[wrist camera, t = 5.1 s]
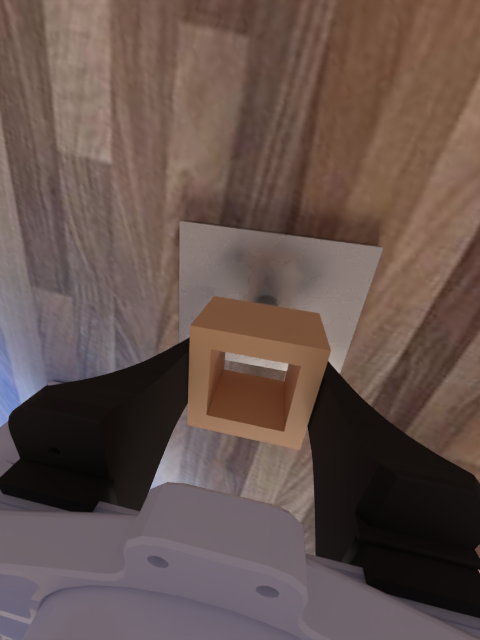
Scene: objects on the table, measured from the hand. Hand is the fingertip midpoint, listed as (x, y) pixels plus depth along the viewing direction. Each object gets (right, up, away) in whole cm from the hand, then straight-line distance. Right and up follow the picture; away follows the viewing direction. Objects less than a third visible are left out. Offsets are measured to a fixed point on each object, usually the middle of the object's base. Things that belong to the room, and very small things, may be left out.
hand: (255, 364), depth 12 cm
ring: (0, +1, +1) cm, 2 cm away
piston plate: (+1, +4, +8) cm, 9 cm away
